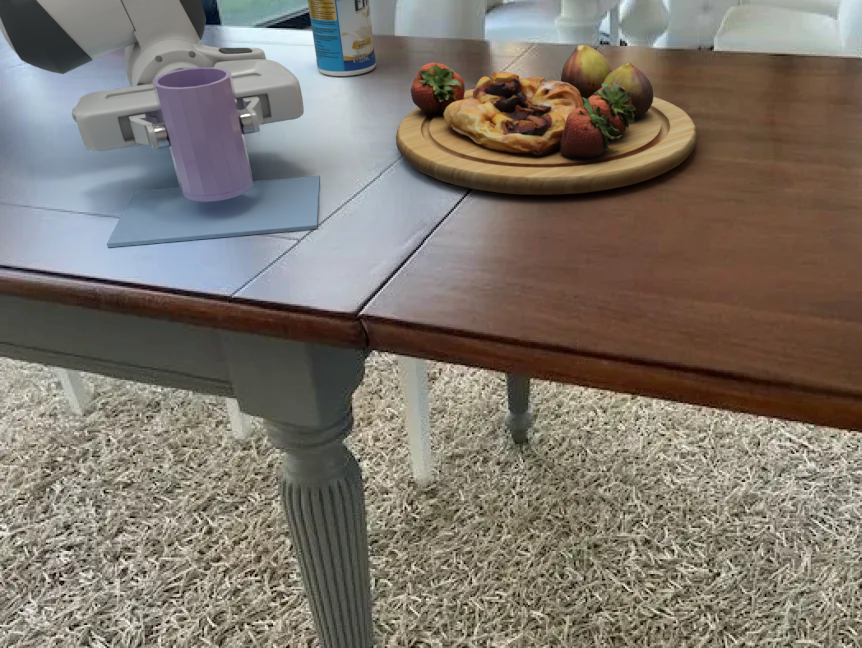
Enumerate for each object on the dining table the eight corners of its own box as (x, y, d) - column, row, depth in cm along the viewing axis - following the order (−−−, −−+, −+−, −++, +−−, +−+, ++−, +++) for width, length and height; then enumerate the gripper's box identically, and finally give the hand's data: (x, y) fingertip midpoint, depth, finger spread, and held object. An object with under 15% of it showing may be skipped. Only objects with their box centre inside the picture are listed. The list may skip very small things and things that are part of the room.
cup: (176, 204, 76) (146, 91, 70) (187, 177, 81) (159, 70, 75) (250, 198, 76) (226, 85, 71) (255, 171, 82) (233, 64, 76)
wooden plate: (334, 159, 90) (323, 79, 86) (513, 85, 111) (512, 18, 106) (591, 231, 74) (594, 137, 69) (744, 128, 95) (755, 51, 90)
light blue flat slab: (107, 247, 74) (106, 243, 74) (134, 194, 84) (133, 190, 84) (317, 229, 76) (316, 224, 76) (320, 179, 86) (319, 175, 86)
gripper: (60, 74, 80) (68, 115, 70) (276, 45, 87) (312, 78, 77) (80, 140, 83) (91, 188, 73) (286, 107, 90) (322, 146, 80)
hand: (206, 131), depth 75 cm, fingers closed on cup, 6 cm apart
